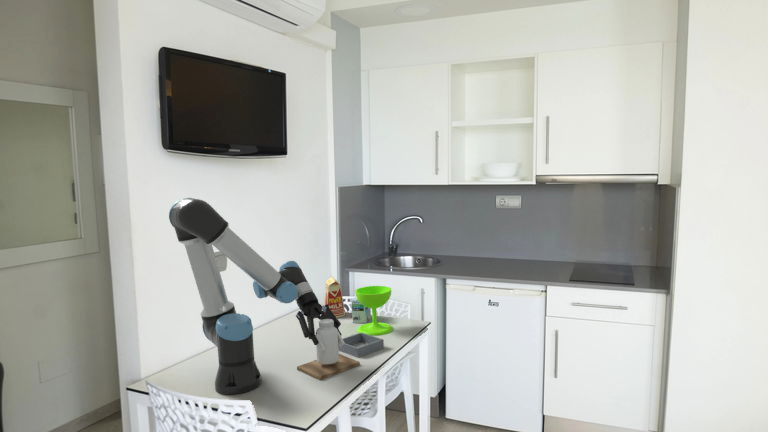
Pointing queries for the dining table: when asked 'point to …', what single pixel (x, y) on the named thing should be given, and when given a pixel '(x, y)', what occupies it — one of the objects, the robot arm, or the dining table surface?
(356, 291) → the wineglass
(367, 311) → the light bulb box
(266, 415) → the dining table surface
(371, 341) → the bin
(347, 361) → the board
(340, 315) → the milk carton
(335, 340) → the pill bottle
